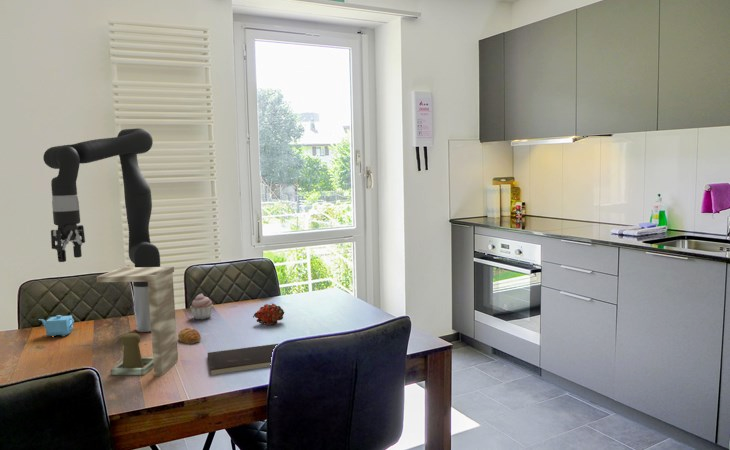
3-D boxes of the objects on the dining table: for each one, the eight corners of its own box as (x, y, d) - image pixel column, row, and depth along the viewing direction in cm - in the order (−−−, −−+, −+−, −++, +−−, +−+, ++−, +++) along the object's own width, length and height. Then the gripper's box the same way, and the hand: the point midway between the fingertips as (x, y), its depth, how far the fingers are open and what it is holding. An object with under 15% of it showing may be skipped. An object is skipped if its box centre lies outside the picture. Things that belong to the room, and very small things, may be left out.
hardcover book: (288, 365, 168) (288, 358, 167) (210, 376, 160) (210, 369, 160) (279, 349, 183) (278, 342, 182) (207, 358, 175) (207, 352, 175)
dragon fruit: (287, 327, 211) (256, 333, 210) (285, 310, 217) (255, 316, 216) (283, 313, 205) (252, 320, 204) (281, 296, 211) (250, 302, 210)
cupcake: (219, 316, 223) (218, 292, 222) (201, 322, 216) (199, 297, 214) (203, 313, 228) (202, 289, 227) (185, 318, 221) (184, 294, 219)
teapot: (36, 339, 199) (34, 319, 198) (42, 334, 205) (41, 314, 204) (72, 336, 201) (70, 316, 200) (77, 331, 207) (75, 312, 206)
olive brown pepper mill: (136, 373, 163) (133, 337, 161) (118, 372, 164) (115, 337, 163) (147, 365, 169) (145, 331, 167) (130, 365, 170) (127, 330, 168)
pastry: (205, 341, 192) (205, 331, 191) (187, 346, 187) (186, 335, 187) (194, 335, 198) (193, 325, 198) (176, 340, 194) (175, 330, 194)
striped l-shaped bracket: (104, 377, 160) (96, 276, 157) (127, 360, 174) (120, 267, 171) (161, 376, 159) (154, 276, 156) (179, 359, 173) (173, 266, 170)
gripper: (64, 211, 167) (68, 263, 169) (89, 207, 181) (93, 255, 183) (40, 211, 167) (45, 263, 169) (67, 207, 182) (72, 256, 183)
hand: (70, 259), depth 176 cm, fingers open, 8 cm apart
